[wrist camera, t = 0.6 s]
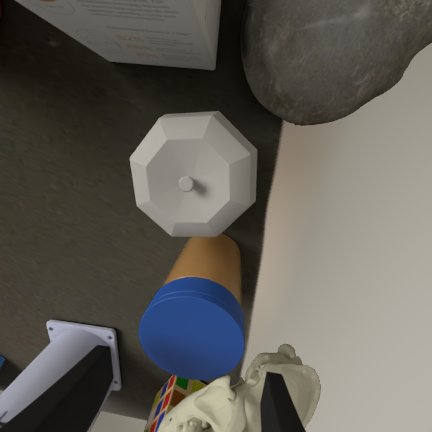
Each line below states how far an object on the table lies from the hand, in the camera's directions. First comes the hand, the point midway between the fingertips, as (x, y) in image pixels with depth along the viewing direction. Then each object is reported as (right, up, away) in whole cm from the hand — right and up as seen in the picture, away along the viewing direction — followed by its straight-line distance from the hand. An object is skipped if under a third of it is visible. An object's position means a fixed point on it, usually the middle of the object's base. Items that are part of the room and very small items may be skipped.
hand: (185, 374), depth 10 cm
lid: (0, +1, +2) cm, 2 cm away
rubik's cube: (-2, -14, +16) cm, 21 cm away
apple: (+1, +11, +7) cm, 13 cm away
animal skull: (+1, -8, +11) cm, 14 cm away
